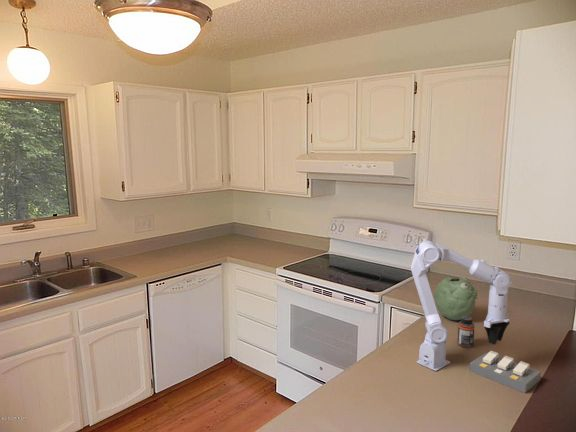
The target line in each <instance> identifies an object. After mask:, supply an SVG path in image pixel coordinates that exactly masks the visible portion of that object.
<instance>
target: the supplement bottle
mask: <svg viewBox="0 0 576 432" xmlns="http://www.w3.org/2000/svg"><path fill="white" fill-rule="evenodd" d="M475 326H476V325H475V323H473V318H472V317H471V316H469V315H468V316H462V317H461V320H459V322H458V324H457V345H458V346H460V347H462V348H466V349H470V348H473V347H474V345H475V330H476V329H475Z"/></svg>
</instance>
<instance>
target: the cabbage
mask: <svg viewBox="0 0 576 432" xmlns="http://www.w3.org/2000/svg"><path fill="white" fill-rule="evenodd" d="M473 285H474V284H473V283H472V282H470V281H469V278H468V277H466V276H463V277H450V276H447V277H445V278H443V279H441V281H440V282H438V284H437V286H436V288H435V290H434V292H433V298H434V301H435V304H436V308H437V311H438V313H440V315H442V316H443V317H445V318H446V319H448V320H450V321H461V317H462V316H468V317H469V316H470V315H471V313H473V311H474V310H475V307H476V300H477V299H478V290H477V289H476V288H475V287H474V286H473Z"/></svg>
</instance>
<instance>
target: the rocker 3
mask: <svg viewBox="0 0 576 432" xmlns="http://www.w3.org/2000/svg"><path fill="white" fill-rule="evenodd" d="M517 364H518V365H517V366H516V367H515V368H514V369H513V373H515V374H517V375H520V376H522V375H523V374H524V373H525V372H526V370H527V369H528V368H530V363H527V362H524V361H522V360H521V361H519V363H517Z"/></svg>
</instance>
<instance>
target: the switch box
mask: <svg viewBox="0 0 576 432" xmlns="http://www.w3.org/2000/svg"><path fill="white" fill-rule="evenodd" d="M488 353H489V352H487V351H486V352H485V353H483V354H482V355H480V356H478V357H477V358H475V359H474V360H472V361H471V362H470V363H469V372H470V373H474V374H477V375H479V376H481V377H484V378H486V379H489V380H492V381H494V382H496V383H499V384H501V385H504V386H506V387H509V388H511V389H513V390H516V391H518V392H521V393H523V394H526V393H527V392H529V390H531V389H532V388H533V387H534V386H536V384H537V383H539V382H540V381H541V375H542V374H541V372H542V371H539V370H537V369H534V368H531V367H529V368H528V369H527V370H526V372H525V373H524V374H523V375H522V376H520V375H517V374H515V373H513V369H514V368H515V367H516V366H517V365H518V364H519V363H517V362H515V361H514V362H513V363H511V364H510V366H509V367H508V368H507V369H506V370H504V369H501V368H499V367H497V364H498V363H499V362H500V361H501V360H502V359H503V358H504V357H501V356H499V357H498V358H495V361H494V362H493V363H492V364H488V363H485V362H483V358H484V357H485V356H486V355H487V354H488Z"/></svg>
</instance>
